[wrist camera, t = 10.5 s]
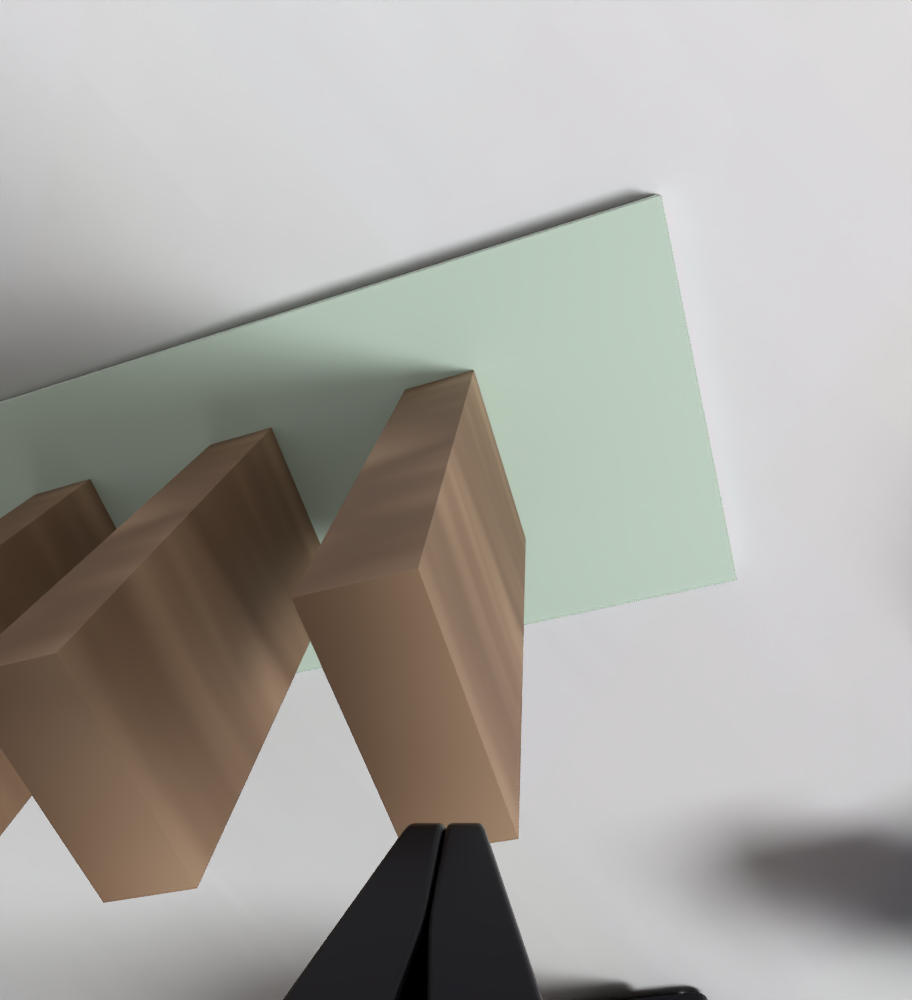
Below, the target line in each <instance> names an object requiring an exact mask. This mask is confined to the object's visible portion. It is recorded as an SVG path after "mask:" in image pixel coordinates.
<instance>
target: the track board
mask: <svg viewBox="0 0 912 1000" xmlns="http://www.w3.org/2000/svg"><path fill="white" fill-rule="evenodd" d="M472 370H474V372H475V375H476V378H477V382H478V385H479V388H480V391H481V395H482V398H483V401H484V404H485V408H486V411H487V414H488V418H489V421H490V424H491V427H492V431H493V434H494V437H495V440H496V444H497V447H498V450H499V453H500V457H501V460H502V463H503V466H504V470H505V473H506V476H507V479H508V483H509V486H510V489H511V492H512V496H513V499H514V502H515V505H516V509H517V512H518V515H519V518H520V522H521V525H522V528H523V531H524V535H525V538H526V554H525V594H524V625H527V624H531V623H536V622H541V621H545V620H550V619H555V618H560V617H564V616H569V615H574V614H579V613H583V612H588V611H593V610H598V609H602V608H607V607H612V606H616V605H621V604H626V603H631V602H635V601H640V600H645V599H650V598H654V597H659V596H664V595H668V594H673V593H678V592H683V591H687V590H692V589H697V588H702V587H706V586H711V585H716V584H721V583H725V582H730V581H735V580H737V577H736V572H735V567H734V562H733V557H732V551H731V546H730V541H729V536H728V531H727V526H726V521H725V516H724V511H723V506H722V501H721V496H720V491H719V486H718V481H717V475H716V470H715V465H714V460H713V455H712V450H711V445H710V440H709V435H708V430H707V425H706V420H705V415H704V410H703V405H702V399H701V394H700V389H699V384H698V379H697V374H696V369H695V364H694V359H693V354H692V349H691V344H690V339H689V334H688V329H687V323H686V318H685V313H684V308H683V303H682V298H681V293H680V288H679V283H678V278H677V273H676V268H675V263H674V258H673V252H672V247H671V242H670V237H669V232H668V227H667V222H666V217H665V212H664V207H663V202H662V197H661V195H659V194H656V195H653V196H650V197H646V198H643V199H640V200H637V201H634V202H631V203H627V204H624V205H621V206H618V207H615V208H612V209H608V210H605V211H602V212H599V213H596V214H593V215H589V216H586V217H583V218H580V219H577V220H574V221H570V222H567V223H564V224H561V225H558V226H555V227H551V228H548V229H545V230H542V231H539V232H536V233H532V234H529V235H526V236H523V237H520V238H517V239H513V240H510V241H507V242H504V243H501V244H498V245H494V246H491V247H488V248H485V249H482V250H479V251H475V252H472V253H469V254H466V255H463V256H460V257H456V258H453V259H450V260H447V261H444V262H441V263H438V264H434V265H431V266H428V267H425V268H422V269H419V270H415V271H412V272H409V273H406V274H403V275H400V276H396V277H393V278H390V279H387V280H384V281H381V282H377V283H374V284H371V285H368V286H365V287H362V288H358V289H355V290H352V291H349V292H346V293H343V294H339V295H336V296H333V297H330V298H327V299H324V300H320V301H317V302H314V303H311V304H308V305H305V306H301V307H298V308H295V309H292V310H289V311H286V312H282V313H279V314H276V315H273V316H270V317H267V318H263V319H260V320H257V321H254V322H251V323H248V324H244V325H241V326H238V327H235V328H232V329H229V330H225V331H222V332H219V333H216V334H213V335H210V336H206V337H203V338H200V339H197V340H194V341H191V342H187V343H184V344H181V345H178V346H175V347H172V348H168V349H165V350H162V351H159V352H156V353H153V354H149V355H146V356H143V357H140V358H137V359H134V360H130V361H127V362H124V363H121V364H118V365H115V366H112V367H108V368H105V369H102V370H99V371H96V372H93V373H89V374H86V375H83V376H80V377H77V378H74V379H70V380H67V381H64V382H61V383H58V384H55V385H51V386H48V387H45V388H42V389H39V390H36V391H32V392H29V393H26V394H23V395H20V396H17V397H13V398H10V399H7V400H4V401H1V402H0V518H1V517H3V516H4V515H6V514H7V513H9V512H10V511H12V510H13V509H15V508H16V507H17V506H19V505H20V504H22V503H23V502H25V501H26V500H28V499H29V498H31V497H32V496H33V495H35V494H39V493H42V492H46V491H49V490H53V489H56V488H60V487H63V486H67V485H70V484H74V483H77V482H81V481H84V480H88V479H91V481H92V483H93V485H94V487H95V489H96V491H97V493H98V495H99V497H100V498H101V500H102V502H103V504H104V506H105V508H106V510H107V512H108V514H109V516H110V517H111V519H112V521H113V523H114V525H115V527H116V529H117V528H118V527H120V526H121V525H122V524H123V523H124V522H125V521H126V520H127V519H128V518H130V517H131V516H132V515H133V514H134V513H135V512H136V511H137V510H138V509H140V508H141V507H142V506H143V505H144V504H145V503H146V502H147V501H148V500H149V499H151V498H152V497H153V496H154V495H155V494H156V493H157V492H158V491H159V490H161V489H162V488H163V487H164V486H165V485H166V484H167V483H168V482H169V481H171V480H172V479H173V478H174V477H175V476H176V475H177V474H178V473H179V472H180V471H182V470H183V469H184V468H185V467H186V466H187V465H188V464H189V463H190V462H192V461H193V460H194V459H195V458H196V457H197V456H198V455H199V454H200V453H201V452H203V451H204V450H205V449H206V448H207V447H208V446H209V445H211V444H215V443H218V442H222V441H225V440H229V439H232V438H236V437H239V436H243V435H246V434H250V433H253V432H257V431H260V430H264V429H268V428H271V427H272V430H273V432H274V435H275V437H276V439H277V442H278V444H279V447H280V449H281V451H282V454H283V456H284V458H285V461H286V463H287V466H288V468H289V470H290V473H291V475H292V478H293V480H294V482H295V485H296V487H297V489H298V492H299V494H300V497H301V499H302V501H303V504H304V506H305V509H306V511H307V513H308V516H309V518H310V520H311V523H312V525H313V528H314V530H315V532H316V535H317V537H318V540H319V542H320V544H321V542H322V541H323V539H324V537H325V535H326V533H327V532H328V530H329V528H330V526H331V524H332V522H333V521H334V519H335V517H336V515H337V513H338V511H339V510H340V508H341V506H342V504H343V502H344V500H345V499H346V497H347V495H348V493H349V491H350V489H351V488H352V486H353V484H354V482H355V480H356V478H357V477H358V475H359V473H360V471H361V469H362V467H363V466H364V464H365V462H366V460H367V458H368V456H369V455H370V453H371V451H372V449H373V447H374V445H375V444H376V442H377V440H378V438H379V436H380V434H381V433H382V431H383V429H384V427H385V425H386V423H387V422H388V420H389V418H390V416H391V414H392V412H393V411H394V409H395V407H396V405H397V403H398V402H399V400H400V398H401V396H402V394H403V392H404V391H405V389H408V388H412V387H415V386H419V385H423V384H426V383H430V382H433V381H437V380H440V379H444V378H447V377H451V376H454V375H458V374H461V373H465V372H468V371H472ZM318 668H322V666H321V664H320V661H319V659H318V657H317V655H316V652H315V650H314V648H313V646H312V644H311V641H310V643H309V645H308V648H307V650H306V652H305V654H304V656H303V658H302V661H301V663H300V665H299V667H298V669H297V671H296V673H300V672H304V671H309V670H314V669H318Z"/></svg>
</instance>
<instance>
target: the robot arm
mask: <svg viewBox="0 0 912 1000" xmlns="http://www.w3.org/2000/svg"><path fill="white" fill-rule="evenodd" d="M283 1000H543V999H542V996H541V993H540V990H539V987H538V984H537V981H536V979H535V976H534V973H533V970H532V967H531V964H530V961H529V958H528V955H527V952H526V949H525V946H524V943H523V940H522V937H521V934H520V931H519V928H518V925H517V922H516V919H515V916H514V913H513V910H512V907H511V904H510V902H509V899H508V896H507V893H506V890H505V887H504V884H503V881H502V878H501V875H500V872H499V869H498V866H497V863H496V860H495V857H494V854H493V851H492V848H491V845H490V842H489V839H488V836H487V833H486V831H485V828H484V826H483V825H482V824H480V823H450V824H449V825H448V826H447V828H446V827H445V826H444V825H443V824H441V823H412V824H410V825H408V826H407V827H406V828H405V830H404V831H403V832H402V834H401V835H400V836H399V838H398V839H397V841H396V842H395V844H394V845H393V846H392V848H391V849H390V851H389V852H388V853H387V855H386V856H385V858H384V859H383V860H382V862H381V863H380V865H379V866H378V867H377V869H376V870H375V872H374V873H373V874H372V876H371V877H370V879H369V880H368V881H367V883H366V884H365V886H364V887H363V888H362V890H361V891H360V893H359V894H358V895H357V897H356V898H355V900H354V901H353V902H352V904H351V905H350V907H349V908H348V909H347V911H346V912H345V914H344V915H343V916H342V918H341V919H340V921H339V922H338V923H337V925H336V926H335V928H334V929H333V930H332V932H331V933H330V935H329V936H328V937H327V939H326V940H325V942H324V943H323V944H322V946H321V947H320V949H319V950H318V951H317V953H316V954H315V956H314V957H313V958H312V960H311V961H310V963H309V964H308V965H307V967H306V968H305V970H304V971H303V972H302V974H301V975H300V977H299V978H298V979H297V981H296V982H295V984H294V985H293V986H292V988H291V989H290V991H289V992H288V993H287V995H286V996H285V998H284V999H283ZM627 1000H708V999H707V998H706V996H704V995H703V994H700V993H683V994H673V995H664V996H655V997H646V998H636V999H627Z"/></svg>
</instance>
